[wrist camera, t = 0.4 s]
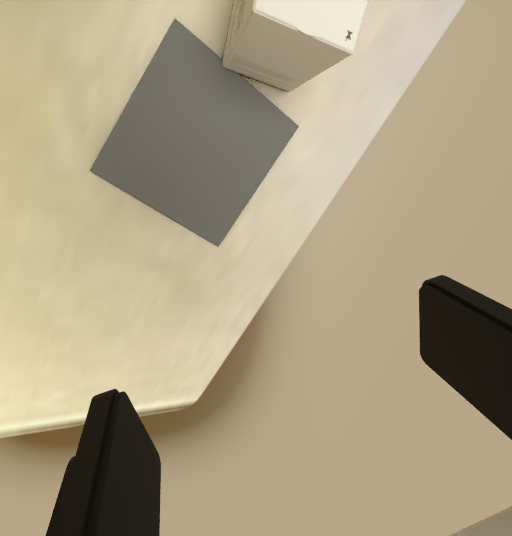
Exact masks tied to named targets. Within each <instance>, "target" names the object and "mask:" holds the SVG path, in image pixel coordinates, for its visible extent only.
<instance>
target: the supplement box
mask: <svg viewBox="0 0 512 536" xmlns="http://www.w3.org/2000/svg"><path fill="white" fill-rule="evenodd" d="M367 1H368V0H234V5H233V10H232V15H231V20H230V25H229V30H228V35H227V40H226V45H225V50H224V55H223V61H222V66H223V67H225V68H227V69H230V70H232V71H235V72H238V73H241V74H243V75H246V76H249V77H251V78H254V79H257V80H259V81H262V82H265V83H267V84H270V85H273V86H275V87H278V88H281V89H284V90H286V91H291V90H293V89H295V88H296V87H298V86H300V85H301V84H303V83H305V82H306V81H308V80H310V79H311V78H313V77H315V76H316V75H318V74H320V73H321V72H323V71H325V70H326V69H328V68H330V67H331V66H333V65H335V64H336V63H338V62H340V61H341V60H343V59H345V58H346V57H348V56H350V55H352V54H353V52H354V49H355V45H356V41H357V38H358V34H359V30H360V27H361V23H362V19H363V16H364V12H365V9H366V5H367Z"/></svg>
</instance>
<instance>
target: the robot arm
mask: <svg viewBox="0 0 512 536" xmlns="http://www.w3.org/2000/svg"><path fill="white" fill-rule="evenodd" d="M419 315H420V355H421V357H422V359H423V361H424V362H425V363H426V364H427V365H428V366H429V367H430V368H431V369H432V370H433V371H435V372H436V373H437V374H438V375H439V376H440V377H441V378H442V379H444V380H445V381H446V382H447V383H448V384H449V385H450V386H452V387H453V388H454V389H455V390H456V391H457V392H458V393H459V394H461V395H462V396H463V397H464V398H465V399H466V400H467V401H468V402H470V403H471V404H472V405H473V406H474V407H475V408H476V409H478V410H479V411H480V412H481V413H482V414H483V415H484V416H486V418H488V419H489V420H490V421H491V422H492V423H493V424H494V425H496V426H497V427H498V428H499V429H500V430H501V431H502V432H503V433H505V434H506V435H507V436H508V437H509V438H510V439H511V440H512V309H510V308H508V307H506V306H504V305H502V304H500V303H498V302H496V301H494V300H492V299H490V298H488V297H486V296H484V295H482V294H480V293H479V292H477V291H475V290H473V289H470V288H469V287H467V286H464V285H463V284H461V283H459V282H457V281H455V280H453V279H451V278H449V277H447V276H444V275H440V276H437V277H434V278H432V279H429V280H426V281H424V282H423V284H422V287H421V288H420V290H419ZM160 481H161V462H160V457H159V454H158V452H157V450H156V448H155V446H154V444H153V442H152V440H151V439H150V437H149V435H148V433H147V431H146V429H145V427H144V425H143V424H142V422H141V420H140V418H139V416H138V414H137V412H136V411H135V409H134V407H133V405H132V403H131V401H130V399H129V398H128V396H127V394H126V393H125V392H120V393H119V392H118V390H116V389H113V390H110V391H107V392H104V393H101V394H98V395H95V396H94V397H93V398H92V400H91V404H90V407H89V411H88V414H87V418H86V421H85V425H84V428H83V432H82V435H81V438H80V442H79V445H78V449H77V452H76V456H74V457H72V458H71V460H70V461H69V463H68V465H67V468H66V471H65V474H64V478H63V481H62V484H61V488H60V491H59V494H58V497H57V501H56V504H55V507H54V510H53V514H52V517H51V520H50V523H49V527H48V530H47V533H46V536H159V526H160V525H159V523H160ZM450 536H512V507H510V508H507V509H505V510H503V511H501V512H499V513H497V514H495V515H492V516H490V517H488V518H486V519H484V520H482V521H480V522H477V523H475V524H473V525H471V526H469V527H467V528H465V529H463V530H460V531H458V532H456V533H454V534H452V535H450Z"/></svg>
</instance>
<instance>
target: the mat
mask: <svg viewBox="0 0 512 536" xmlns="http://www.w3.org/2000/svg"><path fill="white" fill-rule="evenodd" d="M222 61H223V60H222V59H221V58H220V57H219V56H218V55H216V54H215V53H214V52H213V51H212V50H211V49H210V48H208V47H207V46H206V45H205V44H204V43H203V42H201V41H200V40H199V39H198V38H197V37H196V36H195V35H193V34H192V33H191V32H190V31H189V30H188V29H187V28H185V27H184V26H183V25H182V24H181V23H180V22H179V21H177V20H176V19H174V21H173V23H172V25H171V26H170V28H169V30H168V32H167V33H166V35H165V37H164V39H163V41H162V42H161V44H160V46H159V48H158V50H157V51H156V53H155V55H154V57H153V59H152V60H151V62H150V64H149V66H148V68H147V69H146V71H145V73H144V75H143V76H142V78H141V80H140V82H139V84H138V85H137V87H136V89H135V91H134V93H133V94H132V96H131V98H130V100H129V102H128V103H127V105H126V107H125V109H124V111H123V112H122V114H121V116H120V118H119V119H118V121H117V123H116V125H115V127H114V128H113V130H112V132H111V134H110V136H109V137H108V139H107V141H106V143H105V145H104V146H103V148H102V150H101V152H100V154H99V155H98V157H97V159H96V161H95V162H94V164H93V166H92V168H91V170H90V171H91V172H93V173H95V174H96V175H98V176H100V177H101V178H103V179H105V180H106V181H108V182H110V183H112V184H113V185H115V186H117V187H118V188H120V189H122V190H123V191H125V192H127V193H128V194H130V195H132V196H133V197H135V198H137V199H139V200H140V201H142V202H144V203H145V204H147V205H149V206H150V207H152V208H154V209H155V210H157V211H159V212H160V213H162V214H164V215H165V216H167V217H169V218H171V219H172V220H174V221H176V222H177V223H179V224H181V225H182V226H184V227H186V228H187V229H189V230H191V231H192V232H194V233H196V234H198V235H199V236H201V237H203V238H204V239H206V240H208V241H209V242H211V243H213V244H214V245H216V246H218V247H219V245H220V244H221V242H222V241H223V239H224V238H225V236H226V235H227V233H228V232H229V230H230V229H231V227H232V226H233V224H234V223H235V221H236V220H237V218H238V217H239V215H240V214H241V212H242V211H243V209H244V208H245V206H246V205H247V203H248V202H249V200H250V199H251V197H252V196H253V194H254V193H255V191H256V190H257V188H258V187H259V185H260V184H261V182H262V181H263V179H264V178H265V176H266V175H267V173H268V172H269V170H270V169H271V167H272V166H273V164H274V163H275V161H276V160H277V158H278V157H279V155H280V154H281V152H282V151H283V149H284V148H285V146H286V145H287V143H288V142H289V140H290V139H291V137H292V136H293V134H294V133H295V131H296V130H297V128H298V127H299V126H298V125H297V124H296V123H294V122H293V121H292V120H291V119H290V118H289V117H288V116H286V115H285V114H284V113H283V112H282V111H281V110H280V109H278V108H277V107H276V106H275V105H274V104H273V103H271V102H270V101H269V100H268V99H267V98H266V97H265V96H263V95H262V94H261V93H260V92H259V91H258V90H257V89H255V88H254V87H253V86H252V85H251V84H250V83H249V82H247V81H246V80H245V79H244V78H243V77H242V76H240V75H239V74H238V73H237V72H235V71H232V70H230V69H227V68H225V67H223V66H222Z"/></svg>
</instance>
